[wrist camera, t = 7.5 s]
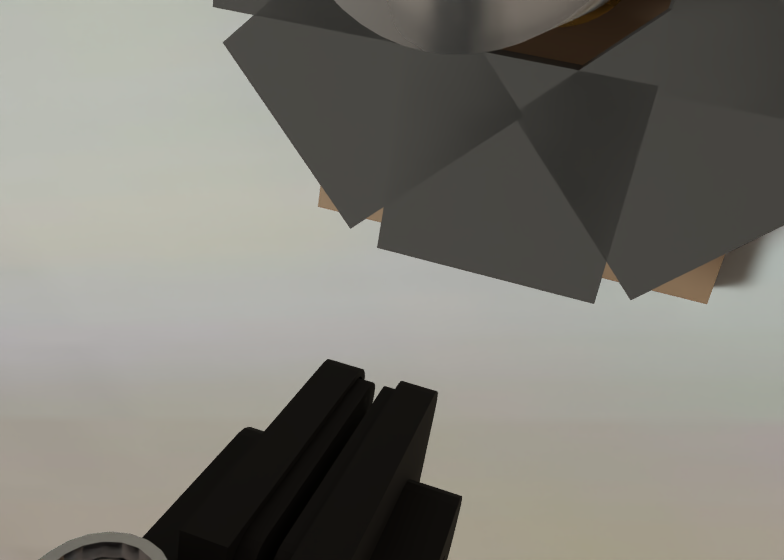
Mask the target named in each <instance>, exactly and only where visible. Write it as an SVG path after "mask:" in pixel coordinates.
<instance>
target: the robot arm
mask: <svg viewBox="0 0 784 560" xmlns="http://www.w3.org/2000/svg"><path fill="white" fill-rule="evenodd" d="M364 379H365V372H364V370H363V369H360V368H357V367H354V366H350V365H347V364H344V363H340V362H337V361H333V360H330V359H327V360H326V361H325V362H324V363H323V364H322V365H321V366H320V367H319V369H318V370H317V371H316V372H315V373H314V374H313V376H312V377H311V378H310V379H309V380H308V381H307V383H306V384H305V385H304V386H303V387H302V388H301V389H300V391H299V392H298V393H297V394H296V395H295V396H294V398H293V399H292V400H291V401H290V402H289V403H288V405H287V406H286V407H285V408H284V409H283V410H282V411H281V413H280V414H279V415H278V416H277V417H276V418H275V420H274V421H273V422H272V423H271V424H270V425H269V427H268V428H267V429H266V430H265V431H261V430H258V429H255V428H252V427H247V428H244V429H243V430H242V431H241V432H239V433H238V434H237V435H236V436H235V438H234V439H233V440H232V441H231V442H230V443H229V444H228V445H227V446H226V447H225V448H224V449H223V451H222V452H221V453H220V454H219V455H218V456H217V457H216V458H215V459H214V460H213V461H212V463H211V464H210V465H209V466H208V467H207V468H206V469H205V470H204V471H203V472H202V473H201V474H200V476H199V477H198V478H197V479H196V480H195V481H194V482H193V483H192V484H191V485H190V486H189V488H188V489H187V490H186V491H185V492H184V493H183V494H182V495H181V496H180V497H179V498H178V499H177V501H176V502H175V503H174V504H173V505H172V506H171V507H170V508H169V509H168V510H167V511H166V512H165V514H164V515H163V516H162V517H161V518H160V519H159V520H158V521H157V522H156V523H155V524H154V526H153V527H152V528H151V529H150V530H149V531H148V532H147V533H146V534H145V535H144V536H143V537H142V538H141V537H138V536H136V535H133V534H128V533H118V532H104V533H94V534H88V535H85V536H82V537H79V538H75V539H72V540H69V541H67V542H65V543H64V544H62V545H60V546H58V547H57V548H55V549H53V550H51V551H50V552H48V553H47V554H45V555H44V556H43V557H41V558H40V559H39V560H447V558H448V555H449V551H450V547H451V543H452V539H453V535H454V531H455V527H456V523H457V519H458V515H459V511H460V506H461V501H462V496H460V495H457V494H454V493H451V492H447V491H444V490H441V489H438V488H435V487H432V486H429V485H426V484H423V483H420V477H421V473H422V468H423V463H424V459H425V454H426V449H427V445H428V440H429V435H430V431H431V426H432V422H433V417H434V412H435V408H436V403H437V396H438V392H437V391H434V390H431V389H427V388H424V387H421V386H417V385H414V384H411V383H407V382H404V381H400V383H399V384H398V385H397V387H396V389H393V388H389V387H386V386H384V387H383V388H382V390H381V391H380V393H379V394H378V396H377V397H376V399H375V400H374V402H373V398H374V392H375V384H374V383H373V382H369V381H366V380H364ZM372 403H373V404H372Z"/></svg>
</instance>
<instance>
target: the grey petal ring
mask: <svg viewBox="0 0 784 560" xmlns="http://www.w3.org/2000/svg"><path fill="white" fill-rule="evenodd" d="M213 7H216V8H221V9H226V10H231V11H236V12H242V13H247V14H252V15H254V16H252V17H251V18H250V19H249V20H248V21H247V22H246V23H244V24H243V25H242V26H241V27H240V28H239V29H238V30H236V31H235V32H234V33H233V34H232V35H231V36H230V37H229V38H227V39H226V40H225V41H224V42H223V43H224V45H225V46H226V48H227V49H228V51H229V52H230V54H231V55H232V57H233V58H234V60H235V61H236V62H237V64H238V65H239V67H240V68H241V70H242V71H243V73H244V74H245V76H246V77H247V79H248V80H249V81H250V83H251V84H252V86H253V87H254V89H255V90H256V92H257V93H258V95H259V96H260V97H261V99H262V100H263V102H264V103H265V105H266V106H267V108H268V109H269V111H270V112H271V114H272V115H273V116H274V118H275V119H276V121H277V122H278V124H279V125H280V127H281V128H282V130H283V131H284V133H285V134H286V135H287V137H288V138H289V140H290V141H291V143H292V144H293V146H294V147H295V149H296V150H297V151H298V153H299V154H300V156H301V157H302V159H303V160H304V162H305V163H306V165H307V166H308V168H309V169H310V170H311V172H312V173H313V175H314V176H315V178H316V179H317V181H318V182H319V184H320V185H321V187H322V188H323V189H324V191H325V192H326V194H327V195H328V197H329V198H330V200H331V201H332V203H333V204H334V205H335V207H336V208H337V210H338V211H339V213H340V214H341V216H342V217H343V219H344V220H345V222H346V223H347V224H348V226H349V227H350V229H351V228H352V227H354V226H355V225H357V224H358V223H360V222H361V221H363V220H365V219H366V218H368V217H369V216H371V215H372V214H374V213H375V212H377V211H378V210H380V209H381V208H383V207H384V208H383V214H382V221H381V227H380V233H379V240H378V246H377V248H380V249H384V250H388V251H392V252H396V253H400V254H403V255H407V256H411V257H415V258H419V259H423V260H427V261H430V262H434V263H438V264H442V265H446V266H450V267H454V268H457V269H461V270H465V271H469V272H473V273H477V274H481V275H485V276H488V277H492V278H496V279H500V280H504V281H508V282H512V283H515V284H519V285H523V286H527V287H531V288H535V289H539V290H542V291H546V292H550V293H554V294H558V295H562V296H566V297H570V298H573V299H577V300H581V301H585V302H589V303H593V304H594V302H595V299H596V296H597V292H598V289H599V286H600V282H601V279H602V275H603V272H604V269H605V265H606V262H607V264H608V265H609V267H610V268H611V270H612V271H613V273H614V275H615V276H616V278H617V279H618V281H619V282H620V284H621V286H622V287H623V289H624V290H625V292H626V294H627V295H628V297H629V298H630V300H632V299H634V298H636V297H638V296H640V295H642V294H645V293H647V292H649V291H651V290H653V289H655V288H657V287H659V286H661V285H663V284H665V283H667V282H669V281H671V280H673V279H675V278H677V277H679V276H681V275H683V274H685V273H687V272H689V271H691V270H693V269H696V268H698V267H700V266H702V265H704V264H706V263H708V262H710V261H712V260H714V259H716V258H718V257H720V256H722V255H724V254H726V253H728V252H730V251H732V250H734V249H736V248H738V247H740V246H742V245H745V244H747V243H749V242H751V241H753V240H755V239H757V238H759V237H761V236H763V235H765V234H767V233H769V232H771V231H773V230H775V229H777V228H779V227H781V226H783V225H784V0H671V3H670V6H669V8H668V9H667V10H665V11H664V12H662V13H661V14H659V15H658V16H656V17H655V18H653V19H652V20H650V21H649V22H647V23H646V24H644V25H643V26H641V27H640V28H638V29H637V30H635V31H634V32H632V33H630V34H629V35H627V36H626V37H624V38H623V39H621V40H620V41H618V42H617V43H615V44H614V45H612V46H611V47H609V48H608V49H606V50H605V51H603V52H602V53H600V54H599V55H597V56H596V57H594V58H593V59H591V60H590V61H588V62H586V63H585V64H583V65H580V64H575V63H569V62H564V61H559V60H554V59H549V58H543V57H538V56H533V55H528V54H523V53H518V52H512V51H507V50H502V49H499V50H496V51H489V52H483V53H476V54H440V53H432V52H425V51H421V50H417V49H414V48H410V47H406V46H403V45H400V44H398V43H396V42H393V41H391V40H389V39H386V38H384V37H382V36H380V35H378V34H377V33H375V32H373V31H372V30H370V29H368V28H367V27H365V26H363V25H362V24H360V23H359V22H358V21H357V20H355V19H354V18H353V17H352V16H350V15H349V14H348V13H347V12H345V11H344V10H343V9H342V8H341V7H340V6H339V5H338V4H337V3H336V2H335V1H334V0H213Z"/></svg>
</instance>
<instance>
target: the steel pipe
mask: <svg viewBox="0 0 784 560" xmlns="http://www.w3.org/2000/svg"><path fill="white" fill-rule="evenodd" d="M334 1H335V2H336V3H337V4H338V5H339V6H340V7H341V8H342V9H343V10H344V11H345V12H347V13H348V14H349V15H350V16H352V17H353V18H354V19H355V20H357V21H358V22H359V23H360V24H362V25H363V26H365V27H367V28H368V29H370V30H372V31H373V32H375V33H377V34H378V35H380V36H382V37H384V38H386V39H389V40H391V41H393V42H396V43H398V44H400V45H403V46H406V47H410V48H414V49H417V50H421V51H425V52H432V53H440V54H476V53H483V52H489V51H496V50H499V49H503V48H506V47H509V46H513V45H516V44H520V43H522V42H524V41H527V40H529V39H531V38H533V37H536V36H538V35H540V34H542V33H545V32H547V31H549V30H551V29H554V28H556V27H568V26H575V25H579V24H582V23H586V22H589V21H591V20H593V19H595V18H598V17H600V16H601V15H603V14H605V13H606V12H608V11H609V10H611V9H612V8H613V7H615V6H616V5H617V4H618V3H620V2H621V1H622V0H334Z"/></svg>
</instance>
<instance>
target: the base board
mask: <svg viewBox="0 0 784 560" xmlns="http://www.w3.org/2000/svg"><path fill="white" fill-rule="evenodd" d="M670 3H671V0H622V1H621V2H620V3H618V4H617V5H616V6H615V7H613V8H612V9H611V10H609V11H608V12H606V13H605V14H603V15H601V16H600V17H598V18H595V19H593V20H591V21H589V22H586V23H582V24H579V25H575V26H568V27H556V28H554V29H551V30H549V31H547V32H545V33H542V34H540V35H538V36H536V37H533V38H531V39H529V40H527V41H524V42H522V43H520V44H516V45H513V46H509V47H506V48H503V49H502V50H507V51H512V52H518V53H523V54H528V55H533V56H538V57H543V58H549V59H554V60H559V61H564V62H569V63H575V64H580V65H583V64H585V63H586V62H588V61H590V60H591V59H593V58H594V57H596V56H597V55H599V54H600V53H602V52H603V51H605V50H606V49H608V48H609V47H611V46H612V45H614V44H615V43H617V42H618V41H620V40H621V39H623V38H624V37H626V36H627V35H629V34H630V33H632V32H634V31H635V30H637V29H638V28H640V27H641V26H643V25H644V24H646V23H647V22H649V21H650V20H652V19H653V18H655V17H656V16H658V15H659V14H661V13H662V12H664V11H665V10H667V9H668V8H669V6H670ZM318 207H322V208H326V209H330V210H334V211H338V210H337V208H336V207H335V205H334V204H333V203H332V201H331V200H330V198H329V197H328V195H327V194H326V192H325V191H324V189H323V188H322V187H320V195H319V203H318ZM383 208H384V207H383ZM383 208H381V209H380V210H378V211H377V212H375V213H374V214H372V215H371V216H369V217H368V218H366V219H369V220H373V221H377V222H381V221H382V214H383ZM338 212H339V211H338ZM724 256H725V254H724V255H722V256H720V257H718V258H716V259H714V260H712V261H710V262H708V263H706V264H704V265H702V266H700V267H698V268H696V269H693V270H691V271H689V272H687V273H685V274H683V275H681V276H679V277H677V278H675V279H673V280H671V281H669V282H667V283H665V284H663V285H661V286H659V287H657V288H655V289H653V290H652V291H656V292H660V293H664V294H668V295H672V296H676V297H680V298H684V299H688V300H692V301H696V302H700V303H704V304H707V303H708V300H709V297H710V294H711V292H712V289H713V286H714V283H715V281H716V278H717V275H718V272H719V270H720V267H721V264H722V261H723V259H724ZM602 278H605V279H609V280H612V281H616V282H619V281H618V279H617V278H616V276H615V275H614V273H613V271H612V270H611V268H610V267H609V265H608V264H607V262H606V265H605V269H604V272H603V275H602Z"/></svg>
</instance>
